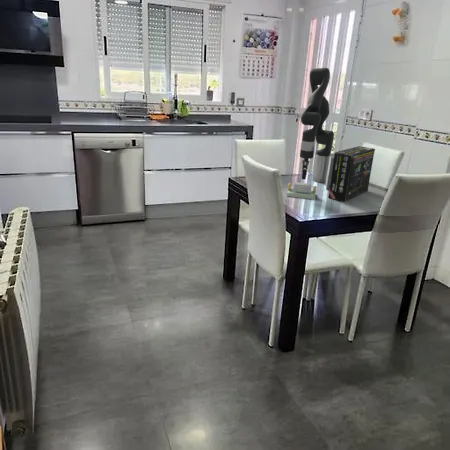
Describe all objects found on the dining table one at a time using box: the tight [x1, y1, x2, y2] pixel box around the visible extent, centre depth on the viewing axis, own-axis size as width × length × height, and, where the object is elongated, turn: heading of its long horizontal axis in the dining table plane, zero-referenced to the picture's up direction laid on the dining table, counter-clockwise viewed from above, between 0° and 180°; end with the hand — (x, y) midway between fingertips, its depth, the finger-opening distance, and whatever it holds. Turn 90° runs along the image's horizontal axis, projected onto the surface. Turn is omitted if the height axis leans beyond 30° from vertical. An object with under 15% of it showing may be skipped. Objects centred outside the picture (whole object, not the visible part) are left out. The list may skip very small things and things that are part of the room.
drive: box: [292, 181, 312, 194], centre depth 230 cm, size 5×10×6 cm, turn 81°
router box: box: [328, 145, 376, 203], centre depth 234 cm, size 36×11×27 cm, turn 141°
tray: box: [286, 182, 317, 200], centre depth 230 cm, size 11×16×6 cm
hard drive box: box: [325, 153, 335, 190], centre depth 250 cm, size 16×8×20 cm, turn 168°
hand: (304, 177), depth 228 cm, fingers open, 8 cm apart
